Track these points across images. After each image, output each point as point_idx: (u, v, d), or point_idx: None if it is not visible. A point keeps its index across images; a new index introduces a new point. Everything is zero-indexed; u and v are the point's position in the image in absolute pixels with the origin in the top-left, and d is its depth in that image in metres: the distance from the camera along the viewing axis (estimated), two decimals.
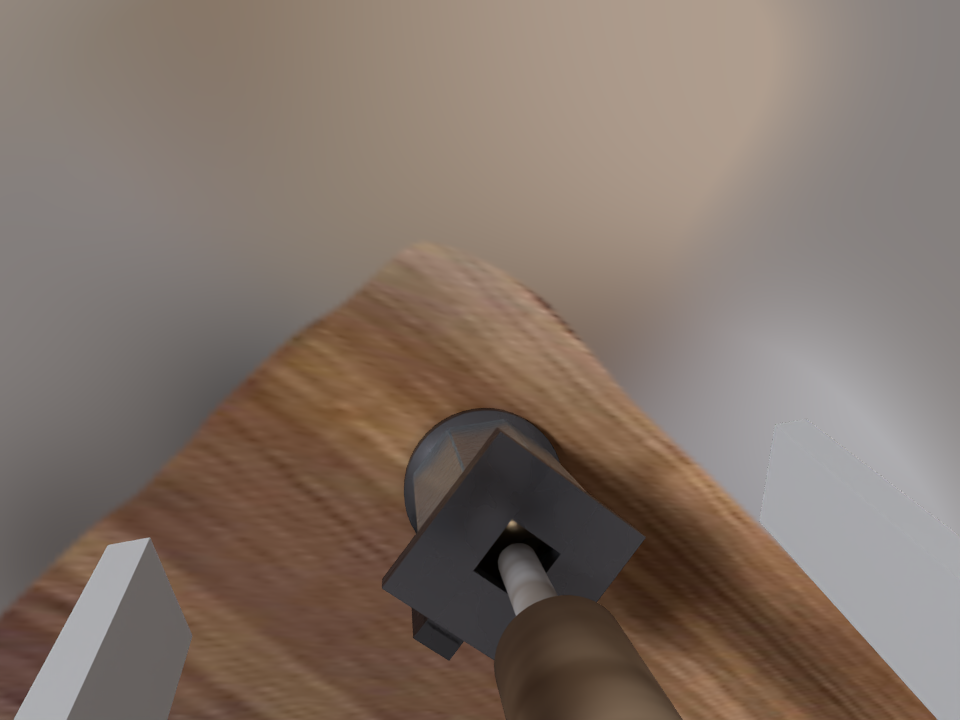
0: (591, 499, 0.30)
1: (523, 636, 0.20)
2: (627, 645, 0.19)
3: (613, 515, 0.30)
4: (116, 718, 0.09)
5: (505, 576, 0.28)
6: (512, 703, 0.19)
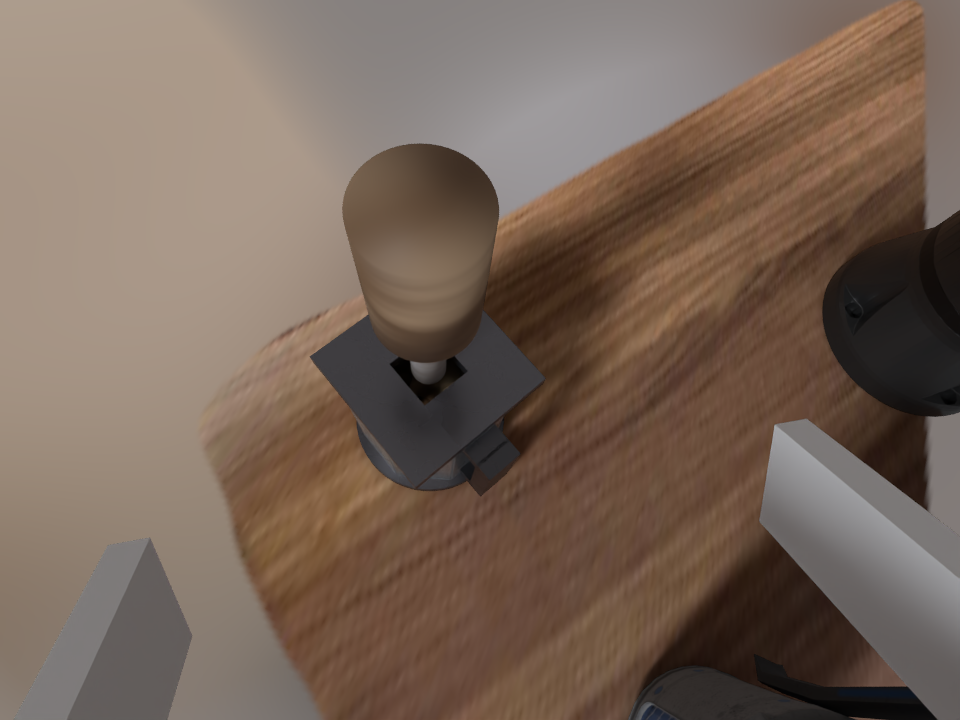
0: None
1: (373, 324, 0.25)
2: None
3: None
4: (116, 718, 0.09)
5: (419, 371, 0.32)
6: (393, 330, 0.23)
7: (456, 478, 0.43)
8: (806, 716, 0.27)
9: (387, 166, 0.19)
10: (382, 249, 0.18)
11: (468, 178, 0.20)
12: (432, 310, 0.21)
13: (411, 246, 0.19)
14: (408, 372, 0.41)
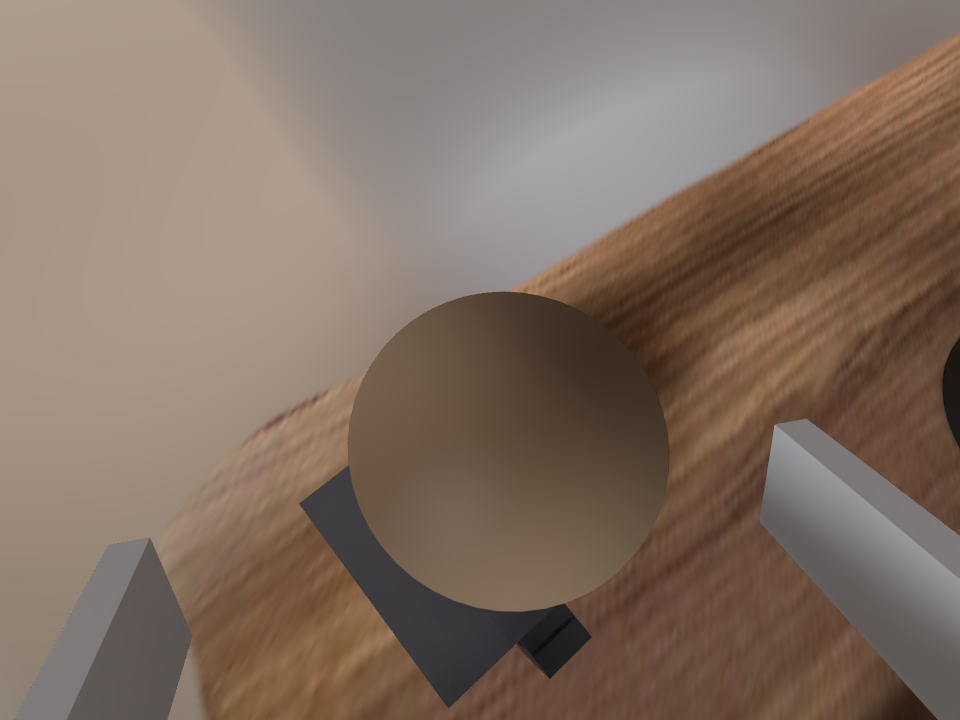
0: None
1: None
2: None
3: None
4: (116, 718, 0.09)
5: None
6: None
7: None
8: None
9: (438, 342, 0.10)
10: (432, 541, 0.09)
11: (601, 368, 0.10)
12: None
13: (494, 532, 0.09)
14: None
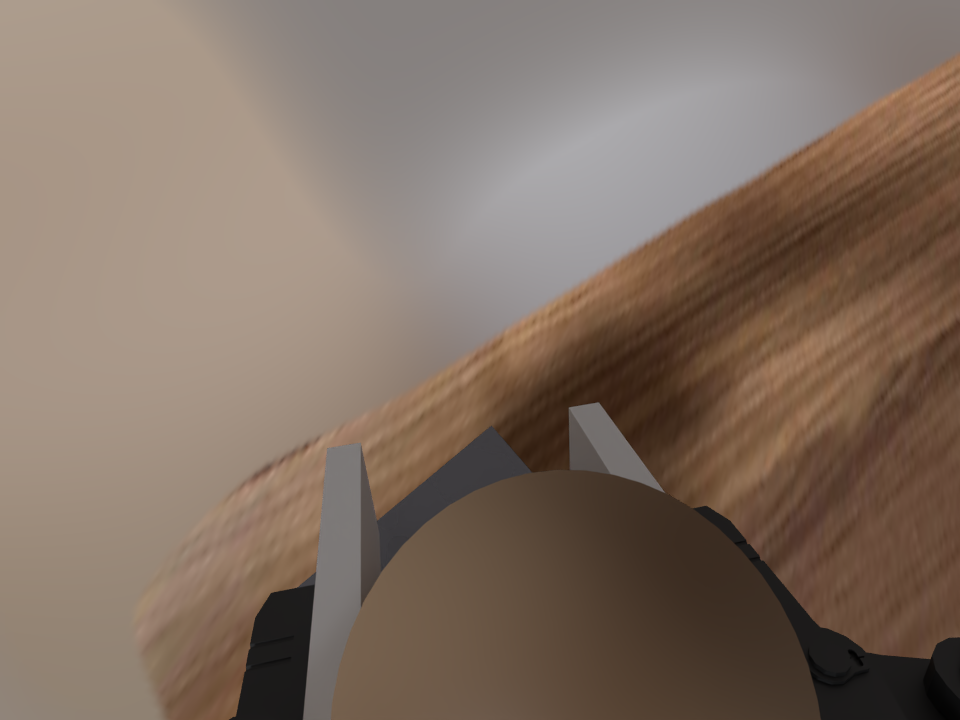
0: (419, 488, 0.22)
1: None
2: None
3: (449, 462, 0.23)
4: (370, 570, 0.12)
5: None
6: None
7: None
8: None
9: (466, 558, 0.06)
10: None
11: (711, 592, 0.06)
12: None
13: None
14: None
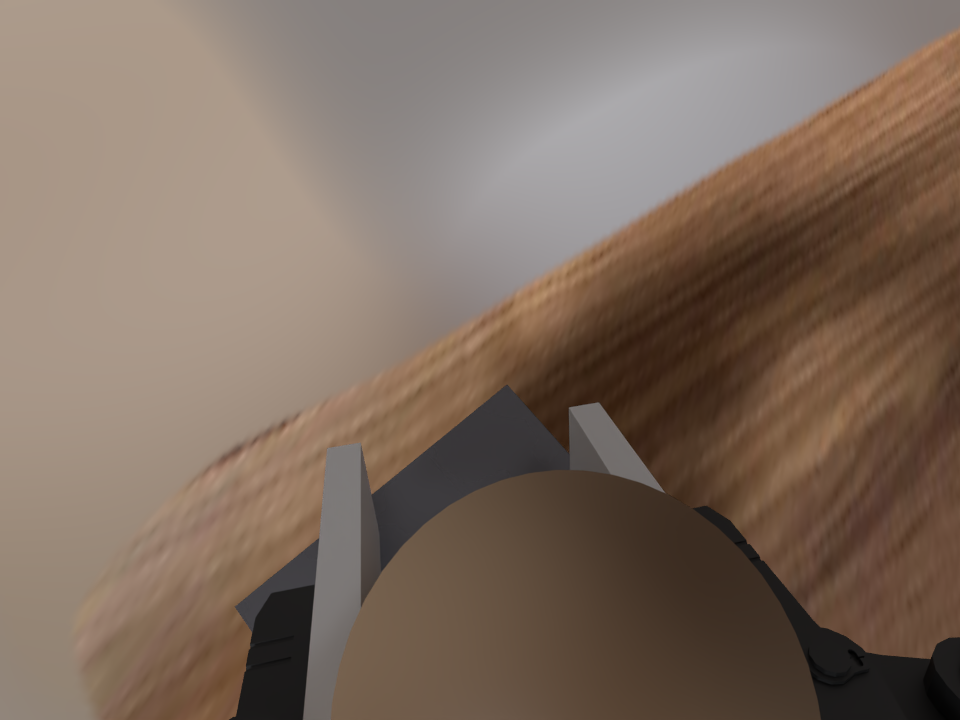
0: (414, 463, 0.17)
1: None
2: None
3: (453, 431, 0.18)
4: (370, 570, 0.12)
5: None
6: None
7: None
8: None
9: (465, 559, 0.06)
10: None
11: (711, 592, 0.06)
12: None
13: None
14: None
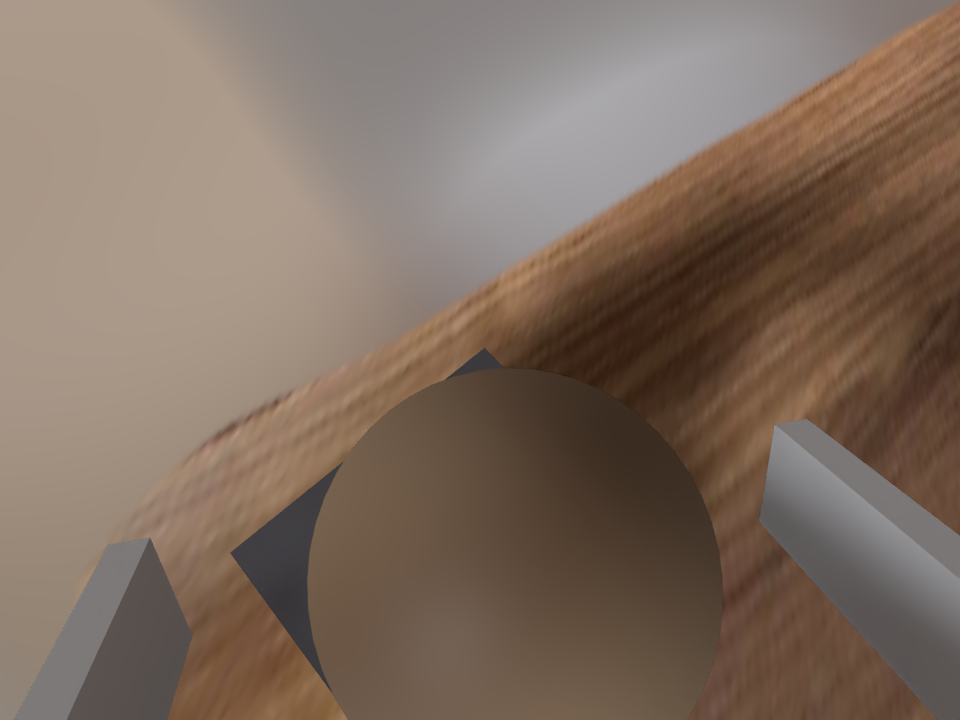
0: None
1: None
2: None
3: None
4: (116, 718, 0.09)
5: None
6: None
7: None
8: None
9: (423, 439, 0.08)
10: (420, 716, 0.07)
11: (631, 465, 0.08)
12: None
13: (501, 699, 0.07)
14: None
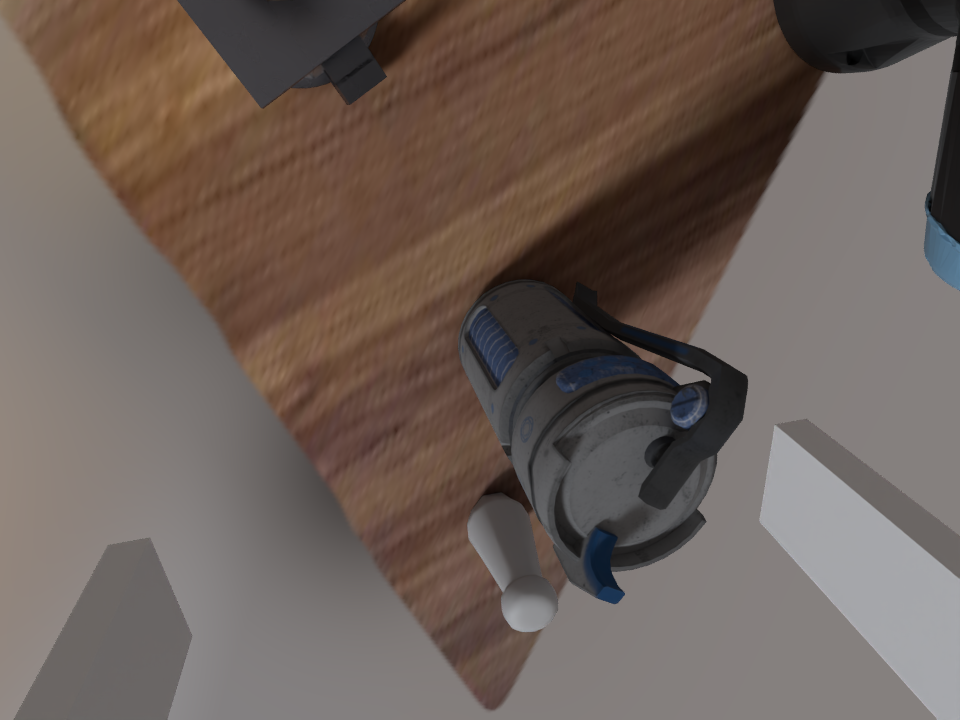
0: None
1: None
2: None
3: None
4: (116, 718, 0.09)
5: None
6: None
7: (320, 77, 0.38)
8: (591, 344, 0.34)
9: None
10: None
11: None
12: None
13: None
14: None
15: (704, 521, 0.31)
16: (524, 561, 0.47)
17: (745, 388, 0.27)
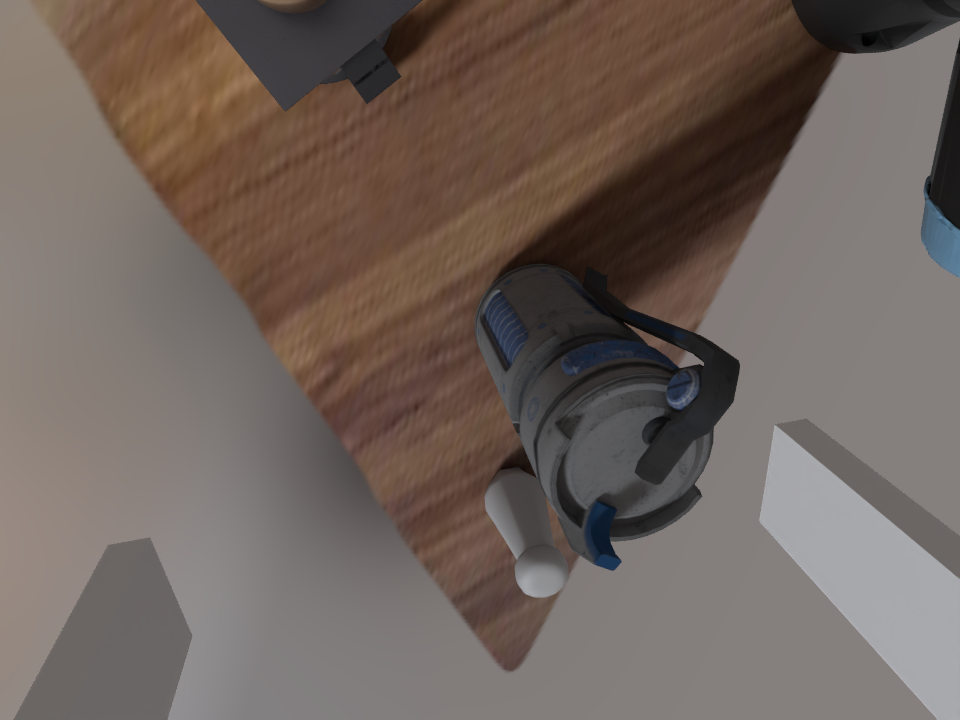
0: None
1: None
2: None
3: None
4: (116, 718, 0.09)
5: None
6: None
7: (340, 73, 0.40)
8: (596, 328, 0.36)
9: None
10: None
11: None
12: None
13: None
14: None
15: (700, 496, 0.33)
16: (537, 531, 0.50)
17: (736, 372, 0.29)
